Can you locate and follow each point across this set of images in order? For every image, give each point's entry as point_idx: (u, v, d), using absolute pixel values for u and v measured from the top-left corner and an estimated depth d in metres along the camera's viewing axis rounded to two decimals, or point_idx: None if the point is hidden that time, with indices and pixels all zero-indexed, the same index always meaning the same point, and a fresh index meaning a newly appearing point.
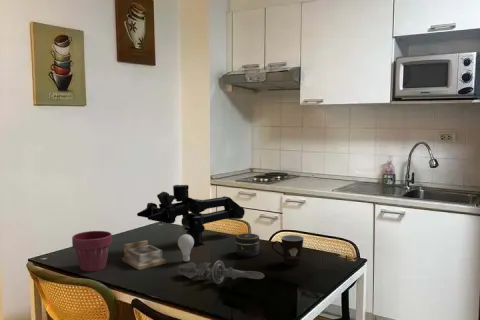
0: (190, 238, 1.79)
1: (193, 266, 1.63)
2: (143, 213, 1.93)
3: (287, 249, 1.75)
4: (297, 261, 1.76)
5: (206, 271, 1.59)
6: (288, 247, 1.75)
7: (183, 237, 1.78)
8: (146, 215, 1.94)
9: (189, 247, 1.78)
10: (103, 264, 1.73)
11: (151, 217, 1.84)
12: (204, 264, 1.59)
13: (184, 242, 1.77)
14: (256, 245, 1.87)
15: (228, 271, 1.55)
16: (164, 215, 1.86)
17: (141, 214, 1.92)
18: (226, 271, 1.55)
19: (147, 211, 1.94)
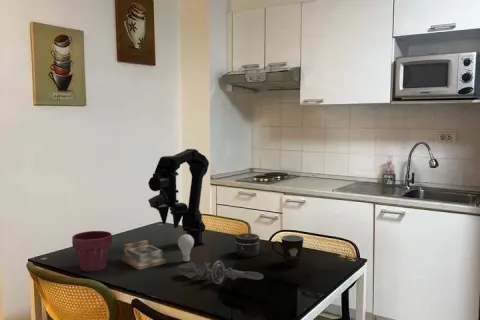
0: (190, 238, 1.79)
1: (193, 266, 1.63)
2: (164, 216, 1.89)
3: (287, 249, 1.75)
4: (297, 261, 1.76)
5: (206, 271, 1.59)
6: (288, 247, 1.75)
7: (183, 237, 1.78)
8: (166, 213, 1.90)
9: (189, 247, 1.78)
10: (103, 264, 1.73)
11: (176, 225, 1.81)
12: (204, 264, 1.59)
13: (184, 242, 1.77)
14: (256, 245, 1.87)
15: (227, 271, 1.54)
16: None
17: (164, 219, 1.89)
18: (225, 271, 1.55)
19: (162, 211, 1.89)
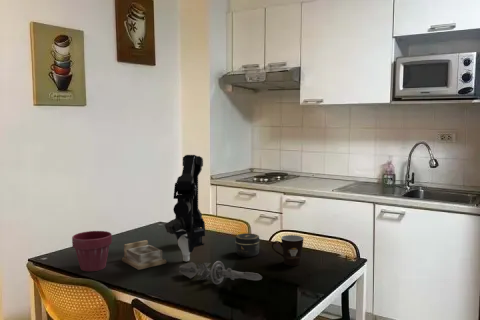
0: None
1: (193, 266, 1.63)
2: None
3: (287, 249, 1.75)
4: (297, 261, 1.76)
5: (205, 271, 1.59)
6: (288, 247, 1.75)
7: (183, 237, 1.78)
8: None
9: None
10: (103, 264, 1.73)
11: (191, 249, 1.78)
12: (203, 264, 1.59)
13: (184, 242, 1.77)
14: (256, 245, 1.87)
15: (227, 272, 1.54)
16: None
17: None
18: (225, 272, 1.54)
19: None
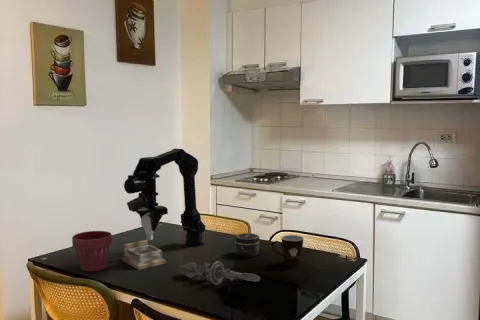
0: None
1: (193, 266, 1.63)
2: None
3: (287, 249, 1.75)
4: (297, 261, 1.76)
5: (205, 271, 1.59)
6: (288, 247, 1.75)
7: (146, 216, 1.77)
8: None
9: None
10: (103, 264, 1.73)
11: (153, 228, 1.76)
12: (203, 264, 1.58)
13: (147, 221, 1.76)
14: (256, 245, 1.87)
15: (226, 272, 1.53)
16: (155, 215, 1.75)
17: None
18: (224, 272, 1.54)
19: None
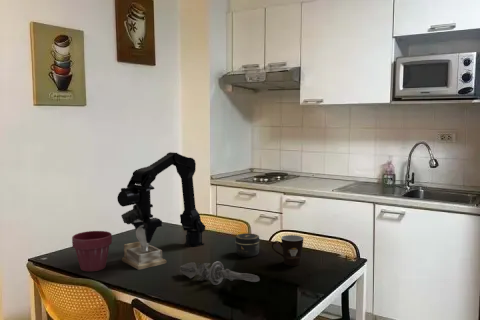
0: None
1: (193, 266, 1.63)
2: None
3: (287, 249, 1.75)
4: (297, 261, 1.76)
5: (205, 272, 1.59)
6: (288, 247, 1.75)
7: (140, 228, 1.78)
8: None
9: None
10: (103, 264, 1.73)
11: (148, 240, 1.77)
12: (203, 264, 1.58)
13: (141, 233, 1.76)
14: (256, 245, 1.87)
15: (225, 272, 1.53)
16: None
17: None
18: (223, 272, 1.54)
19: None
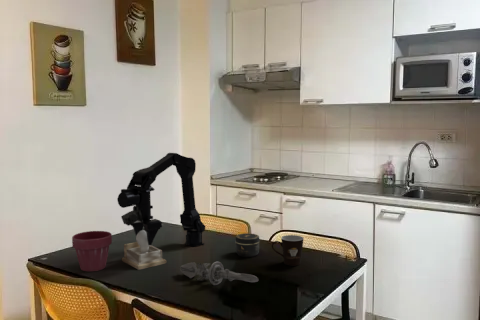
0: None
1: (193, 266, 1.63)
2: None
3: (287, 249, 1.75)
4: (297, 261, 1.76)
5: (205, 272, 1.59)
6: (288, 247, 1.75)
7: (141, 233, 1.78)
8: (140, 229, 1.84)
9: (147, 243, 1.78)
10: (103, 264, 1.73)
11: (150, 242, 1.76)
12: (203, 264, 1.58)
13: (142, 238, 1.76)
14: (256, 245, 1.87)
15: (224, 273, 1.53)
16: None
17: None
18: (223, 273, 1.53)
19: (137, 227, 1.83)
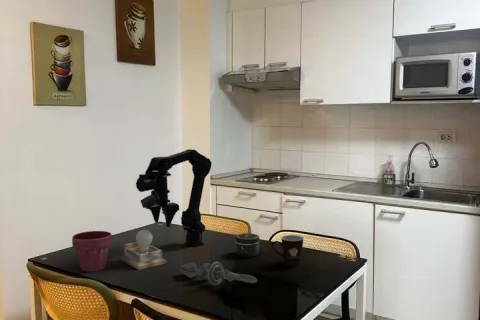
0: (148, 234, 1.78)
1: (194, 266, 1.63)
2: (156, 216, 1.93)
3: (287, 249, 1.75)
4: (297, 261, 1.76)
5: (204, 272, 1.59)
6: (288, 247, 1.75)
7: (141, 233, 1.78)
8: (158, 212, 1.93)
9: (147, 243, 1.78)
10: (103, 264, 1.73)
11: (168, 224, 1.85)
12: (202, 265, 1.58)
13: (142, 238, 1.77)
14: (256, 245, 1.87)
15: (224, 273, 1.53)
16: None
17: (156, 219, 1.93)
18: (222, 273, 1.53)
19: (155, 211, 1.92)
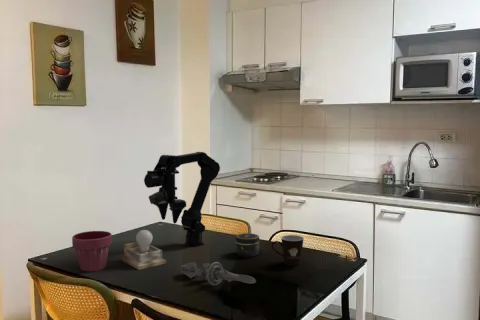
0: (148, 234, 1.78)
1: (194, 266, 1.63)
2: (163, 213, 1.97)
3: (287, 249, 1.75)
4: (297, 261, 1.76)
5: (204, 272, 1.58)
6: (288, 247, 1.75)
7: (141, 233, 1.77)
8: (165, 209, 1.97)
9: (147, 243, 1.77)
10: (103, 264, 1.73)
11: (175, 220, 1.89)
12: (202, 265, 1.58)
13: (142, 238, 1.76)
14: (256, 245, 1.87)
15: (223, 273, 1.52)
16: None
17: (163, 215, 1.97)
18: (221, 273, 1.53)
19: (162, 208, 1.97)
